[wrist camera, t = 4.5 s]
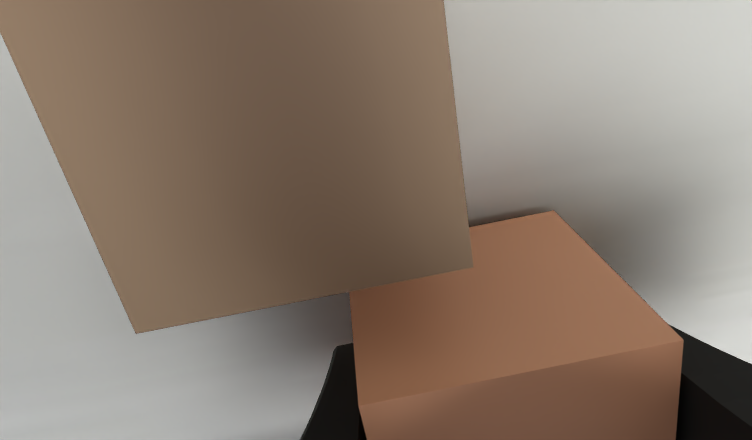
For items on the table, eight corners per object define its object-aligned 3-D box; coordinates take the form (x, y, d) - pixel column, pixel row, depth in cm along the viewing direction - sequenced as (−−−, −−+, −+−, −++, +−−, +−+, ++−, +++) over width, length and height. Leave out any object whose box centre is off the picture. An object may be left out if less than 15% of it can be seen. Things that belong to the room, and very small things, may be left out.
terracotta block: (382, 409, 15) (408, 603, 10) (345, 252, 13) (358, 406, 8) (560, 373, 15) (666, 550, 10) (553, 210, 13) (683, 340, 8)
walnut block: (205, 202, 12) (135, 333, 8) (125, -35, 10) (-34, -45, 6) (418, 161, 12) (473, 267, 8) (382, -84, 10) (428, -135, 6)
